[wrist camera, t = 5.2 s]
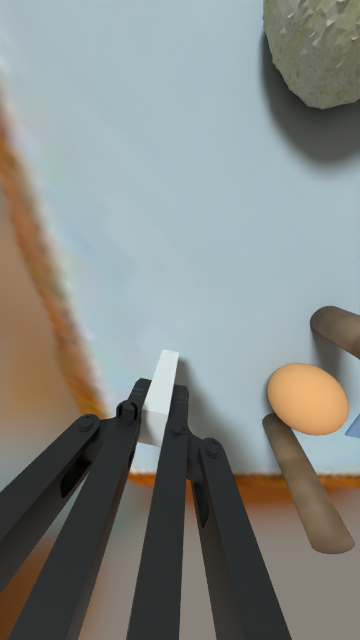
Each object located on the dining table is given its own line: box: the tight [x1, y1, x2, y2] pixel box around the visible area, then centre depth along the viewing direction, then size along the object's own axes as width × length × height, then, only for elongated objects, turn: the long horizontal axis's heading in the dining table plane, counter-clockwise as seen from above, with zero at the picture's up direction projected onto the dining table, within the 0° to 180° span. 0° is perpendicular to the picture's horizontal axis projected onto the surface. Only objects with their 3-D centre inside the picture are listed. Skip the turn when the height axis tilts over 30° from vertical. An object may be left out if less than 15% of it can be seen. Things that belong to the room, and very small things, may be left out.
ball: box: [267, 363, 349, 435], centre depth 15 cm, size 6×6×6 cm
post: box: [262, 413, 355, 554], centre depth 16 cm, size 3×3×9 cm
